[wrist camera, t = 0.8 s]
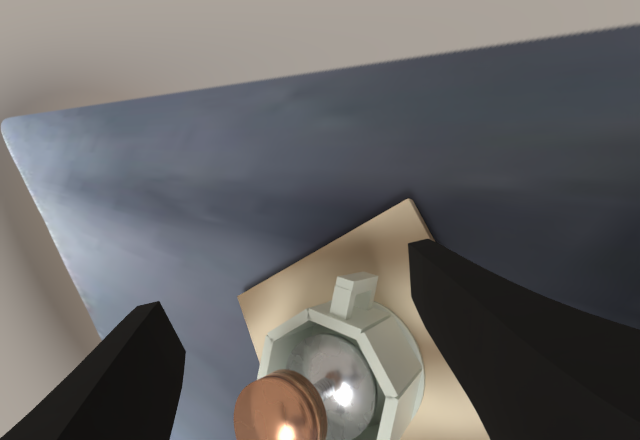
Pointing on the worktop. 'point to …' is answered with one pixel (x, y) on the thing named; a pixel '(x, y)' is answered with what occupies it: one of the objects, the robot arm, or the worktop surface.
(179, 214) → the worktop surface
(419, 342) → the serving board
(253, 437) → the plunger
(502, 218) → the worktop surface
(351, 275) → the faceted mug
